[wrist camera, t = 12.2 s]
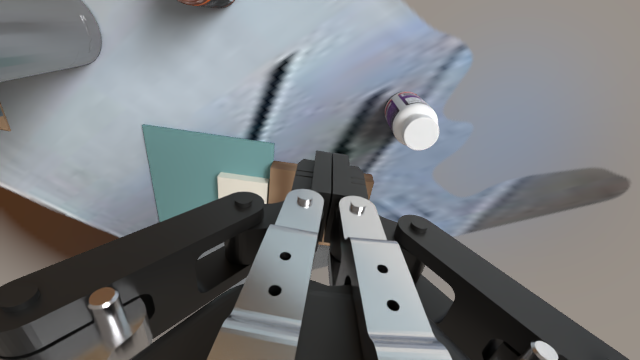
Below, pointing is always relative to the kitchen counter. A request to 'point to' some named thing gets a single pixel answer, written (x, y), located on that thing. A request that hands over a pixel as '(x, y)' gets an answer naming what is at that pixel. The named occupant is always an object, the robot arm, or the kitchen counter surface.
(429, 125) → the pill bottle
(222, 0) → the supplement bottle
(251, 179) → the tile
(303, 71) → the kitchen counter surface
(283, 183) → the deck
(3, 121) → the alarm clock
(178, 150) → the mat
